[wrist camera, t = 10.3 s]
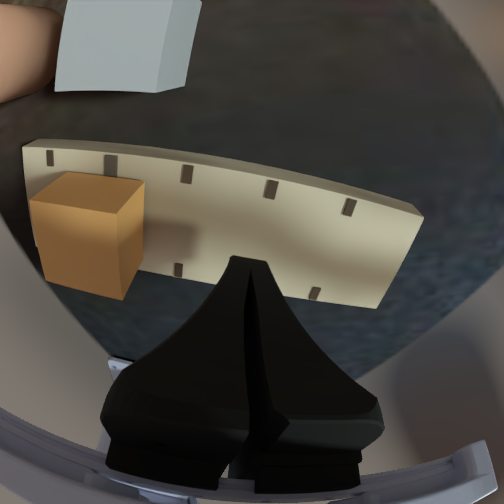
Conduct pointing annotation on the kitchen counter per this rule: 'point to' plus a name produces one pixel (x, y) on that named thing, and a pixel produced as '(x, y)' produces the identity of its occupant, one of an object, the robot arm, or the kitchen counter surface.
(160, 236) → the counting board
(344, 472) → the robot arm
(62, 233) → the tan square block
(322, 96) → the kitchen counter surface
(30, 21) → the tan rounded cylinder
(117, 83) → the grey block
